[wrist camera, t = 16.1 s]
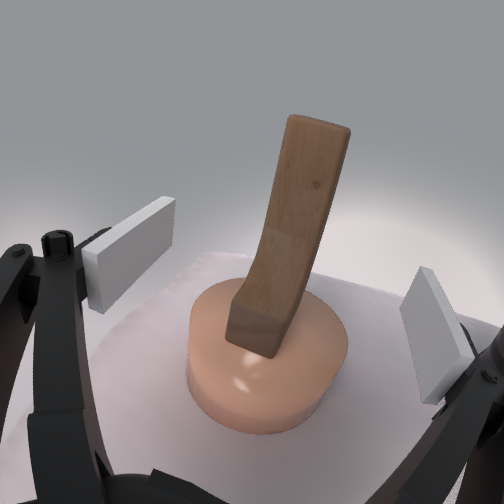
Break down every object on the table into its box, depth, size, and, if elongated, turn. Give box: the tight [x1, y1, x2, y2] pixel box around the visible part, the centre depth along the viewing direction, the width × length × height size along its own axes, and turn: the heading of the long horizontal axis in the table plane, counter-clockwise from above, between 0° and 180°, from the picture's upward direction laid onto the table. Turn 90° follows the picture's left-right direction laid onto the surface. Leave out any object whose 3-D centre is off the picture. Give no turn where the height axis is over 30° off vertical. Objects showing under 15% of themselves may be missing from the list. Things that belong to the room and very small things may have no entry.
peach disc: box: [186, 278, 348, 434], centre depth 30 cm, size 15×15×8 cm
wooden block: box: [225, 114, 351, 359], centre depth 24 cm, size 9×4×18 cm, turn 158°
